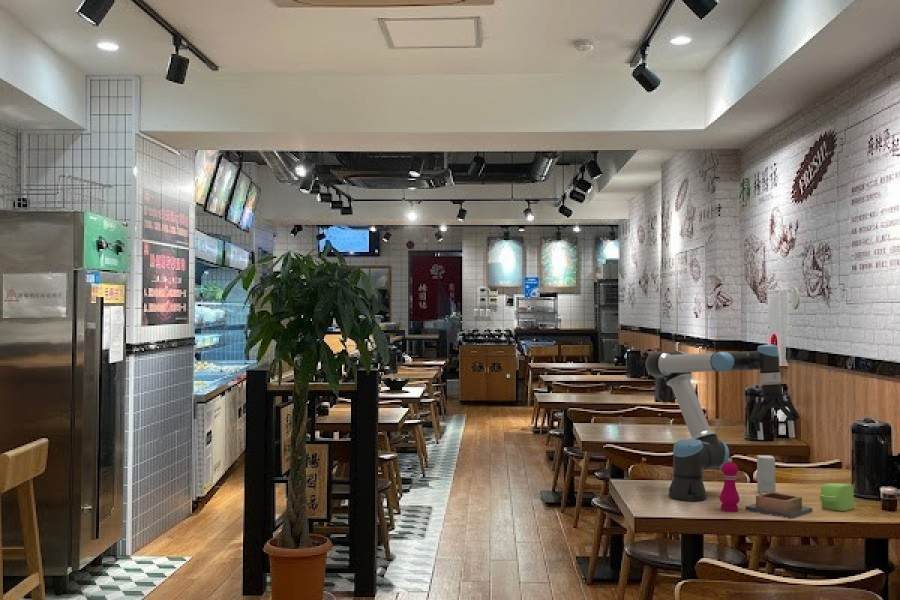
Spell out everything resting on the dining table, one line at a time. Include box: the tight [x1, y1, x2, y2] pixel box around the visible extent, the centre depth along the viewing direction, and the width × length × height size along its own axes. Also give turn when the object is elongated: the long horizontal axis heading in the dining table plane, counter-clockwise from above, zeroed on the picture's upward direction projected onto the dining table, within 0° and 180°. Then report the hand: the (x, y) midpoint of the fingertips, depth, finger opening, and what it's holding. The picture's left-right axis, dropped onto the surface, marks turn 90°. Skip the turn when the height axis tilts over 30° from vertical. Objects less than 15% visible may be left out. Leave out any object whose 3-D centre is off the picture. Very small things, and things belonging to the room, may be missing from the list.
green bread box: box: [819, 482, 855, 512], centre depth 333 cm, size 18×10×10 cm, turn 133°
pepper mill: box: [719, 457, 740, 513], centre depth 325 cm, size 7×7×20 cm
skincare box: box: [756, 454, 777, 494], centre depth 360 cm, size 8×7×16 cm
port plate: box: [745, 492, 813, 519], centre depth 325 cm, size 18×18×6 cm
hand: (776, 438), depth 329 cm, fingers open, 13 cm apart
